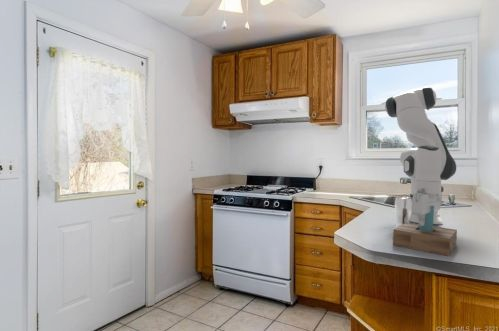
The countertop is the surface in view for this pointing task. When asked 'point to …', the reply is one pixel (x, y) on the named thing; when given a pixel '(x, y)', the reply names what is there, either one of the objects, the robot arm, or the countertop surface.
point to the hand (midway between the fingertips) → (425, 224)
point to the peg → (428, 221)
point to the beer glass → (402, 210)
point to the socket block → (425, 238)
